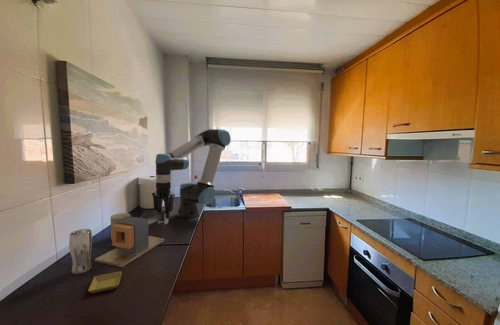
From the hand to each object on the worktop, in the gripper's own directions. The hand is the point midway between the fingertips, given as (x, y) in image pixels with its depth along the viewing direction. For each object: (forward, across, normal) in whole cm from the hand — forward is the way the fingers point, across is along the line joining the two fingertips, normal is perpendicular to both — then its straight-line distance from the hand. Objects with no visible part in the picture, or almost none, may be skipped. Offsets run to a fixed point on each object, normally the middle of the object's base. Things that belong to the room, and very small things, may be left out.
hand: (163, 223), depth 119 cm
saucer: (+6, +11, -44) cm, 46 cm away
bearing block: (+6, 0, -21) cm, 22 cm away
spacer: (+1, 0, -26) cm, 27 cm away
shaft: (-2, 0, -12) cm, 12 cm away
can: (+6, -17, -12) cm, 22 cm away
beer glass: (+6, -6, -40) cm, 41 cm away
